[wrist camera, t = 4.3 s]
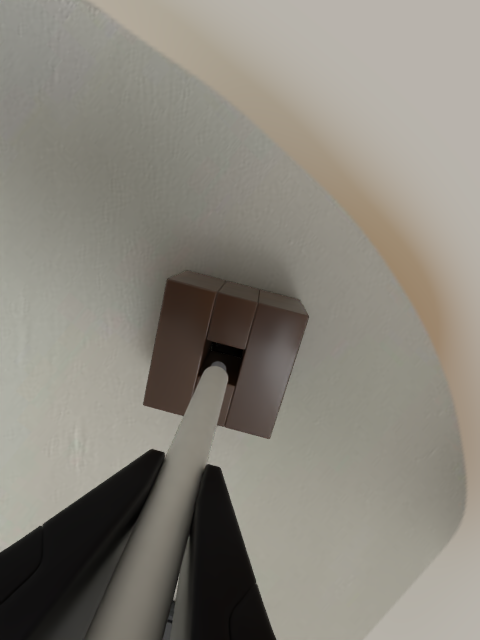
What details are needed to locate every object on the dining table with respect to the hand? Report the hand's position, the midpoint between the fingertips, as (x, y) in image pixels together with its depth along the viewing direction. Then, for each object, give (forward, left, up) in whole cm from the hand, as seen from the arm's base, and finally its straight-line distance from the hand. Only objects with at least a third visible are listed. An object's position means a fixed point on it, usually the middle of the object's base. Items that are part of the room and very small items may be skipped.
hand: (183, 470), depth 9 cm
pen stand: (0, 0, -11) cm, 11 cm away
